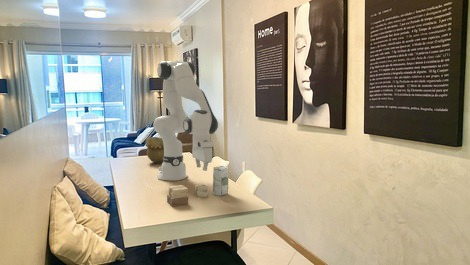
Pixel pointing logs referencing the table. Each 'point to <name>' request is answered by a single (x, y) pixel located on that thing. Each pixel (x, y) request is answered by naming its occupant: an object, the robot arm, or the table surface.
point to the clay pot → (155, 149)
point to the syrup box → (220, 180)
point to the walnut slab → (177, 201)
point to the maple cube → (201, 190)
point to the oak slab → (178, 191)
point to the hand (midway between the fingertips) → (201, 168)
